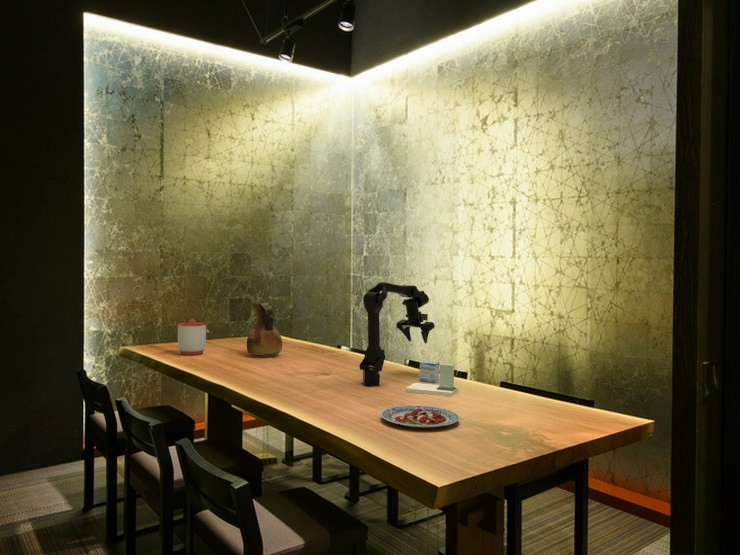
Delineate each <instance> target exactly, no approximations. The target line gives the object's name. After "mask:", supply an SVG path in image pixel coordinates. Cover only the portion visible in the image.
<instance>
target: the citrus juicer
mask: <svg viewBox="0 0 740 555" xmlns="http://www.w3.org/2000/svg"><path fill="white" fill-rule="evenodd" d="M207 326H208V325H207V323H204V322H197V321H196V320H195V319H194V318H190V319H189V320H188V322H182V323H181V322H180V323H177V345H178V349H179V352H180V355H183V356H196V355H197V356H199V355H203V353H204V351H205V347H206V342H207V333H210V330H209V329H207Z"/></svg>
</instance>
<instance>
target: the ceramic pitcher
mask: <svg viewBox="0 0 740 555" xmlns="http://www.w3.org/2000/svg"><path fill="white" fill-rule="evenodd" d="M251 305H252V306H253V307H254V309H255V312H256V314H257V315H256V317H257V318H256V320H257V321H256V324H255V325H254V326H253V327H251V329H250V331H249V333H248V335H247V338H246V351H247V353H248V354H250V355H254V356H277V355H279V354H280V353H281V352H282V349H283V339H282V336H281V333H280V332H279V330H278V328H276V326H274V321H275V320H274V318H275V314H274V311H273V306H272V303H271V302H263V303H262V302H258V303H257V302H256V303H252V304H251Z"/></svg>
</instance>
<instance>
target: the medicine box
mask: <svg viewBox="0 0 740 555" xmlns="http://www.w3.org/2000/svg"><path fill="white" fill-rule="evenodd" d="M418 379H419V380H418V381H419V382H423V383H427V384H429V383H430V384H437V383H440V362H434V361H433V362H432V361H424V360H423V361H420V362H419V378H418Z"/></svg>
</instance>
